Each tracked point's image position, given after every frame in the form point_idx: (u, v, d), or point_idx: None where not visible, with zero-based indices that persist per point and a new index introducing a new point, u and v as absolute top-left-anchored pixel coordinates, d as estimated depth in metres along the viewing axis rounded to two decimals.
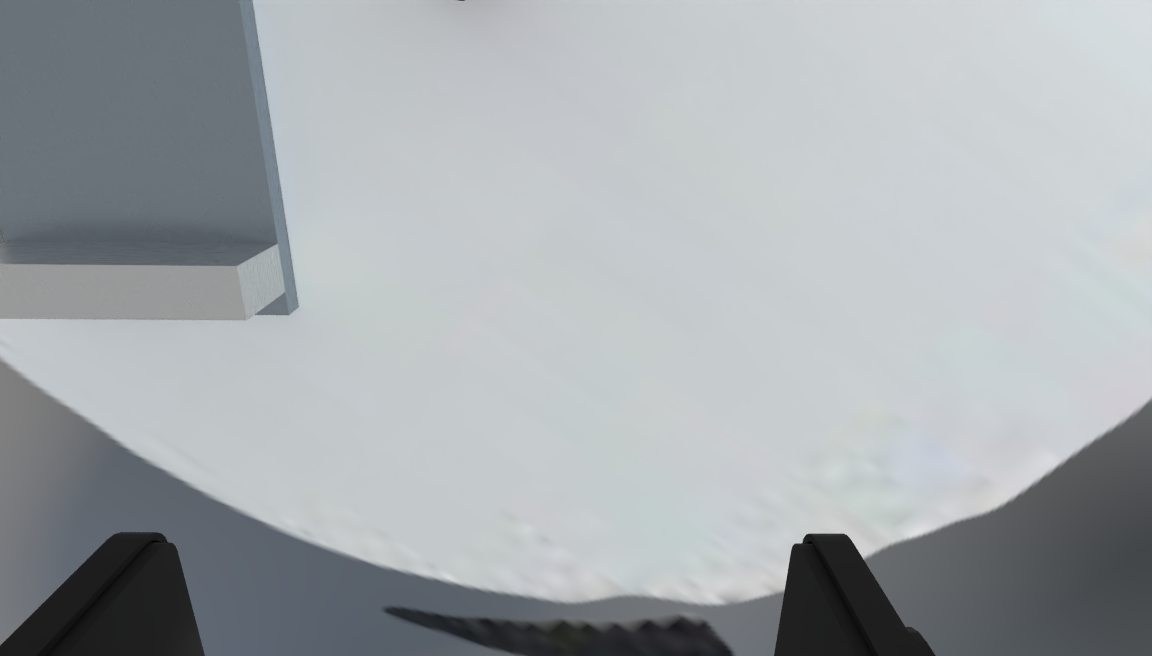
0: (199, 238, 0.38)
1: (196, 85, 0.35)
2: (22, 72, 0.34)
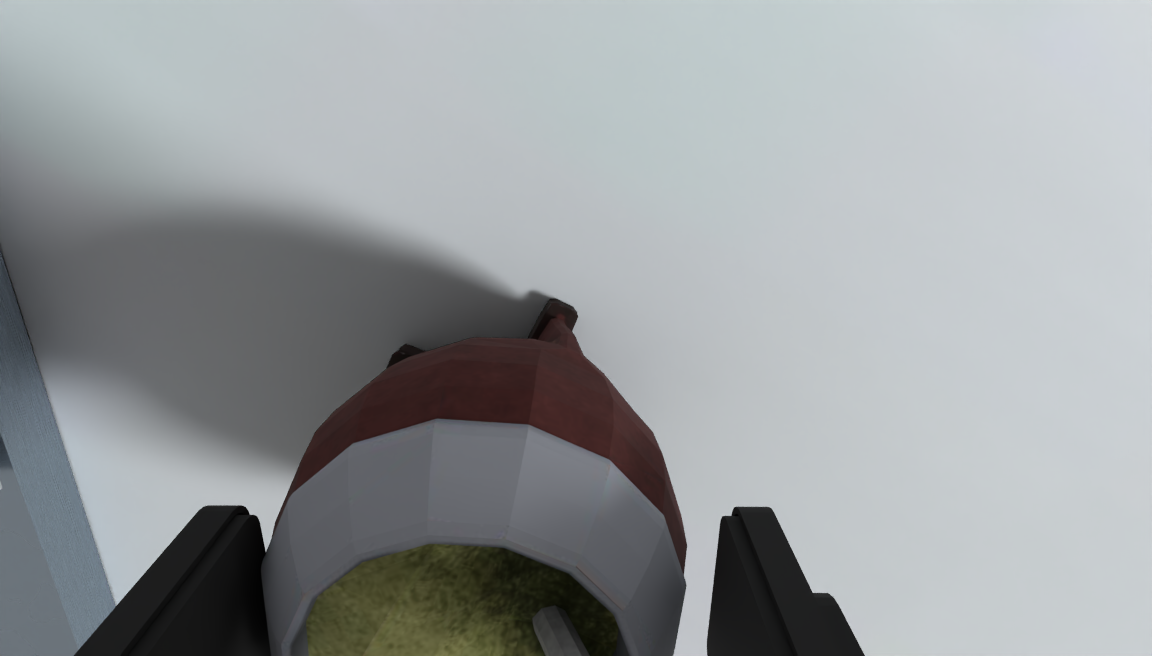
0: None
1: None
2: None
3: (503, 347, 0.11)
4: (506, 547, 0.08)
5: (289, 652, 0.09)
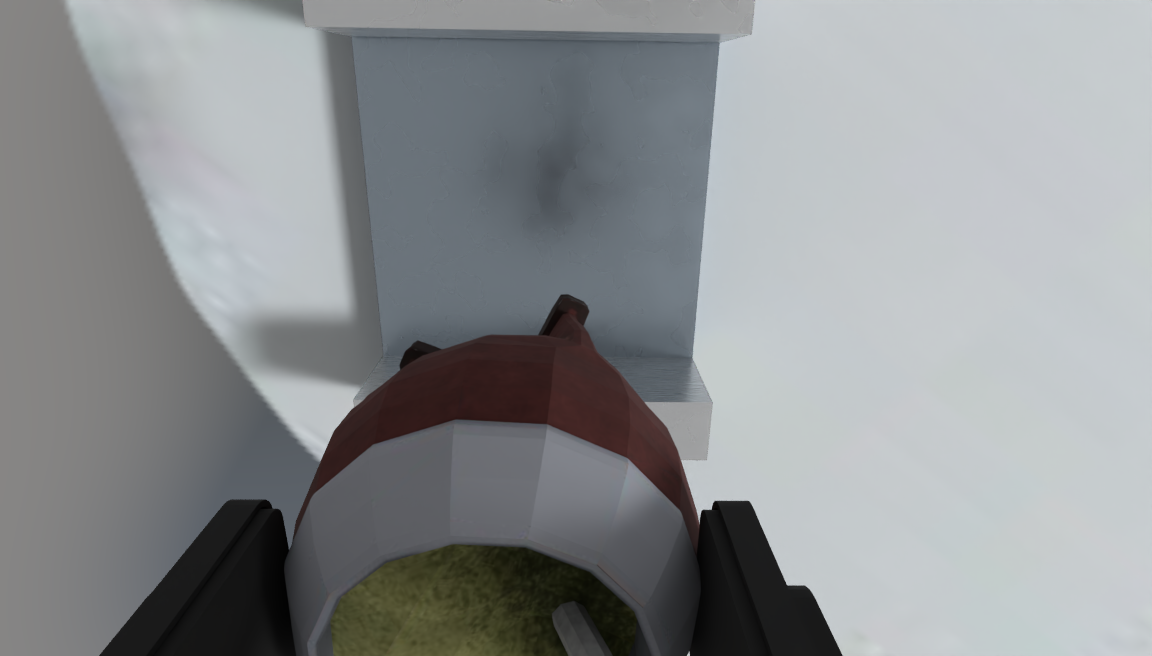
0: (605, 352, 0.33)
1: (642, 187, 0.30)
2: (446, 173, 0.30)
3: (518, 345, 0.11)
4: (528, 547, 0.08)
5: (315, 650, 0.09)
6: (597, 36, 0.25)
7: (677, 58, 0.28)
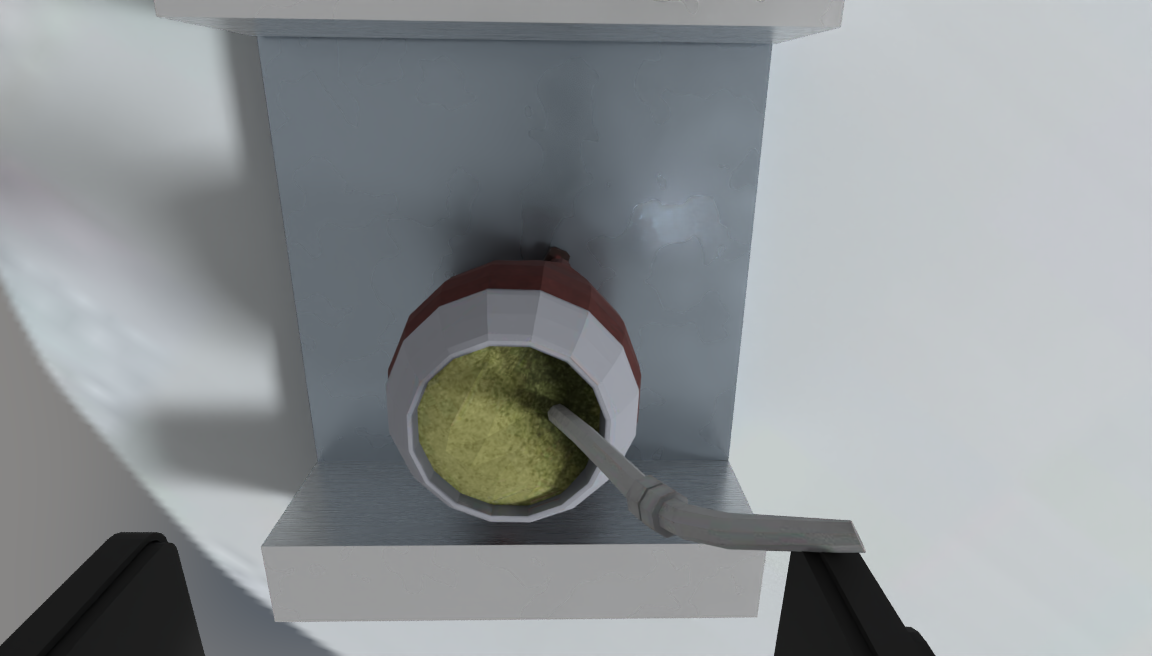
0: None
1: (663, 240, 0.22)
2: (396, 223, 0.22)
3: (522, 261, 0.18)
4: (531, 347, 0.15)
5: (410, 421, 0.15)
6: (604, 33, 0.17)
7: (713, 66, 0.20)
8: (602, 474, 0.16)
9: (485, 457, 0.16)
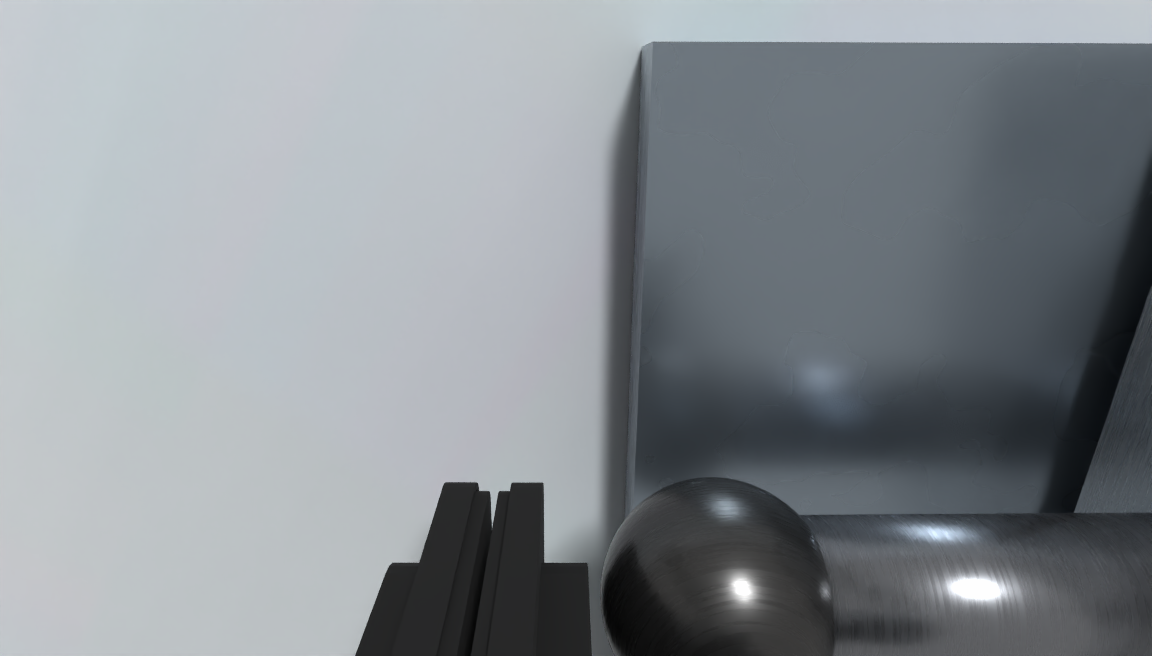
0: None
1: None
2: None
3: None
4: None
5: None
6: None
7: None
8: None
9: None
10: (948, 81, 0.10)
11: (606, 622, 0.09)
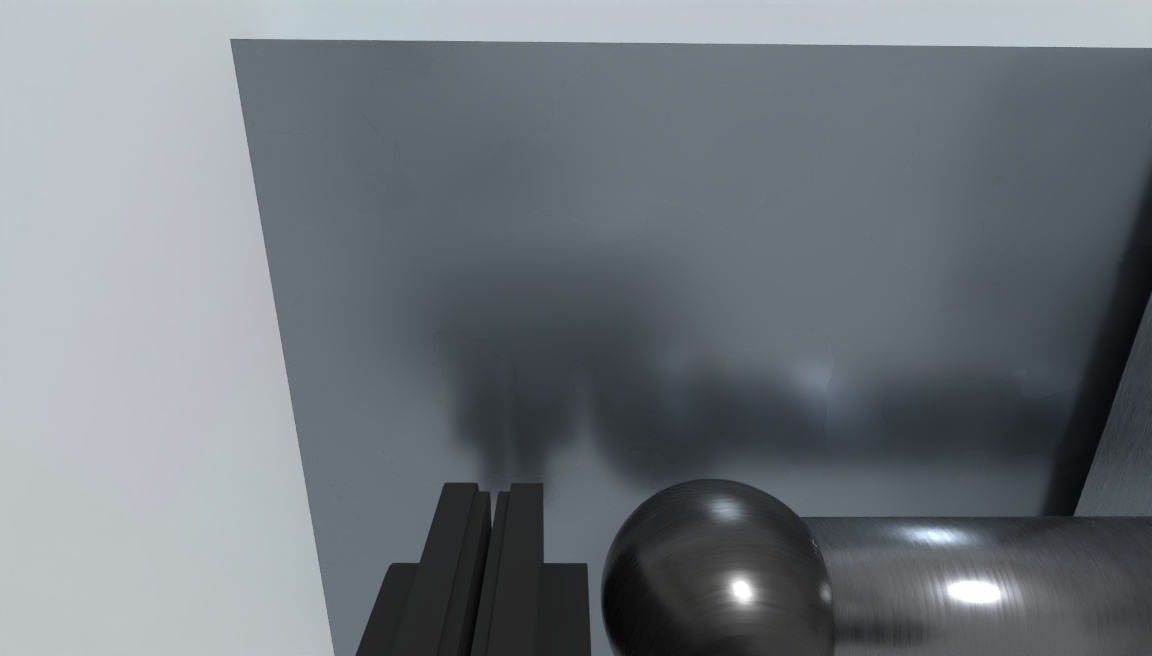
0: None
1: None
2: None
3: None
4: None
5: None
6: None
7: (944, 167, 0.10)
8: None
9: None
10: (540, 81, 0.10)
11: (606, 623, 0.09)
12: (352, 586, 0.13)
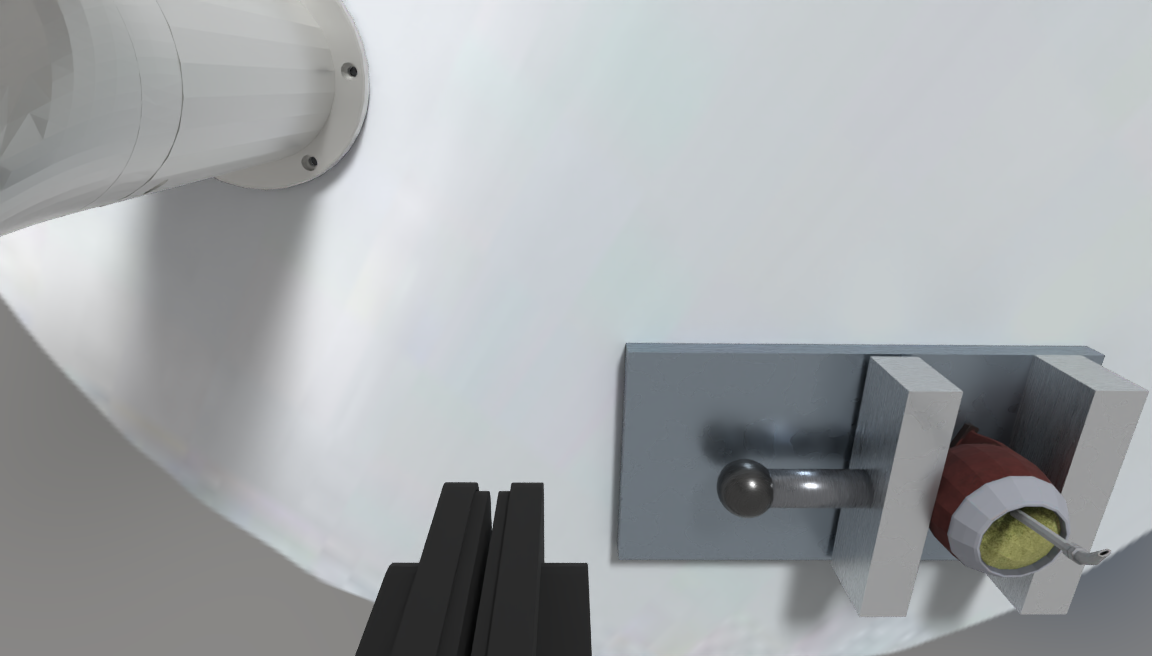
0: (1011, 418, 0.42)
1: None
2: None
3: None
4: (983, 533, 0.35)
5: (1006, 575, 0.36)
6: None
7: (802, 379, 0.40)
8: (1053, 504, 0.35)
9: (1030, 547, 0.36)
10: (701, 360, 0.40)
11: (719, 492, 0.40)
12: (630, 492, 0.43)
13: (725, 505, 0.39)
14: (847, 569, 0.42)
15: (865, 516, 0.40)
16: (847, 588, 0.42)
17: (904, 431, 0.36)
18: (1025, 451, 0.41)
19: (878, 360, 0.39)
